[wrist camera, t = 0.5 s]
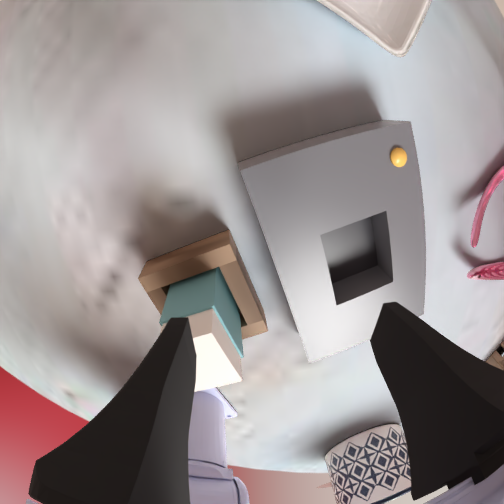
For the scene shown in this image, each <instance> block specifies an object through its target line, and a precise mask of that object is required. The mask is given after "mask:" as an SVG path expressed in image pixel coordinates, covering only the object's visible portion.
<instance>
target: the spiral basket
mask: <svg viewBox="0 0 504 504" xmlns="http://www.w3.org/2000/svg"><path fill="white" fill-rule="evenodd" d="M503 180H504V165H503V166H502V167H501V168H500V169H499V170H498V171H497V172H496V173H495V175H494V176H493V177H492V179H491V180H490V182H489V183H488V185H487V187H486V189H485V190H484V192H483V194H482V197H481V199H480V202H479V204H478V207H477V210H476V213H475V217H474V221H473V226H472V232H471V246H472V247H473V248H474V247H476V245H477V243H478V240H479V235H480V229H481V224H482V220H483V216H484V213H485V210H486V207H487V204H488V202H489V200H490V198H491V196H492V194H493V192H494V191H495V189H496V188H497V186H498V185H499V184H500V183H501V182H502V181H503ZM467 278H468V279H472V280H504V262H496V263H490V264H485V265H481V266H478V267H476V268H473V269H472V270H470V271H469V272H468V273H467Z"/></svg>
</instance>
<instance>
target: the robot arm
mask: <svg viewBox="0 0 504 504" xmlns="http://www.w3.org/2000/svg"><path fill="white" fill-rule="evenodd" d="M370 342H371V346H372V349H373V352H374V355H375V358H376V362H377V364H378V366H379V369H380V371H381V373H382V375H383V377H384V380H385V382H386V384H387V386H388V388H389V391H390V393H391V395H392V397H393V400H394V402H395V404H396V407H397V409H398V412H399V415H400V419H401V423H402V426H403V430H404V434H405V439H406V444H407V449H408V456H409V463H410V474H411V495H412V498H413V500H417V499H419V498H421V497H423V496H425V495H428V494H430V493H432V492H434V491H436V490H438V489H440V488H442V487H443V486H445V485H447V486H448V489H449V490H448V491H446V492H444V493H442V494H441V495H439V496H437V497H436V498H434V499H432V500H430V501H428V502H426V503H424V504H504V370H502V369H499V368H497V367H495V366H493V365H490V364H488V363H486V362H484V361H482V360H480V359H479V358H477V357H475V356H473V355H472V354H470V353H468V352H466V351H465V350H463V349H462V348H460V347H459V346H457V345H456V344H454V343H453V342H451V341H450V340H448V339H447V338H446V337H444V336H443V335H441V334H440V333H439V332H437V331H436V330H435V329H433V328H432V327H431V326H429V325H428V324H427V323H425V322H424V321H423V320H421V319H420V318H419V317H417V316H416V315H415V314H413V313H412V312H411V311H409V310H408V309H406V308H405V307H404V306H402V305H401V304H399V303H397V302H389V303H383V305H382V308H381V311H380V314H379V317H378V320H377V323H376V326H375V328H374V331H373V334H372V337H371V339H370ZM196 358H197V355H196V351H195V346H194V342H193V337H192V333H191V328H190V323H189V318H188V317H171V318H170V319H169V321H168V322H167V324H166V326H165V327H164V329H163V331H162V332H161V334H160V336H159V337H158V339H157V340H156V342H155V343H154V345H153V346H152V348H151V349H150V351H149V352H148V354H147V355H146V357H145V358H144V360H143V361H142V363H141V364H140V365H139V367H138V368H137V369H136V371H135V372H134V373H133V375H132V376H131V377H130V379H129V380H128V381H127V383H126V384H125V385H124V386H123V387H122V389H121V390H120V391H119V392H118V393H117V395H116V396H115V397H114V398H113V399H112V400H111V401H110V402H109V403H108V404H107V405H106V406H105V407H104V408H103V409H102V410H101V411H100V412H99V413H98V414H97V415H96V416H95V417H94V418H93V419H92V420H91V421H90V422H89V423H88V424H87V425H86V426H84V427H83V428H82V429H81V430H80V431H78V432H77V433H76V434H75V435H73V436H72V437H71V438H70V439H68V440H67V441H66V442H64V443H63V444H62V445H60V446H59V447H57V448H56V449H54V450H52V451H51V452H49V453H48V454H47V455H45V456H43V457H41V458H40V459H38V460H36V463H35V466H34V470H33V474H32V478H31V483H30V488H29V495H30V497H32V498H33V499H35V500H37V501H39V502H41V503H43V504H249V495H248V491H247V488H246V486H245V484H244V483H243V482H242V481H241V480H240V479H239V478H238V477H233V470H232V469H227V453H226V431H225V419H228V418H233V417H236V416H237V412H236V411H235V410H234V408H233V407H232V406H231V405H230V404H229V403H228V401H227V400H226V399H225V398H224V397H223V395H222V394H221V393H220V392H219V391H218V389H217V388H216V387H215V388H210V389H206V390H201V391H196V392H194V390H195V383H196ZM26 504H38V503H36V502H34V501H31V500H29V499H27V501H26Z"/></svg>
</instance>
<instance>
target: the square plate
mask: <svg viewBox="0 0 504 504" xmlns="http://www.w3.org/2000/svg"><path fill="white" fill-rule="evenodd" d="M316 1H318V2H319V3H321V4H323V5H324V6H326V7H327V8H329V9H330V10H332V11H333V12H335V13H336V14H338V15H339V16H341V17H342V18H344V19H345V20H347V21H348V22H349V23H351V24H352V25H353V26H355V27H356V28H357V29H359V30H360V31H361V32H363V33H364V34H365V35H367V36H368V37H369V38H370V39H372V40H373V41H374V42H376V43H377V44H378V45H380V46H381V47H382V48H384V49H385V50H387V51H388V52H389V53H391V54H392V55H394V56H397V57H403V56H405V55H406V54H407V52H408V51H409V49H410V47H411V46H412V44H413V42H414V40H415V38H416V36H417V34H418V32H419V29H420V27H421V25H422V23H423V20H424V18H425V16H426V13H427V11H428V8H429V7H430V4H431V1H432V0H316Z"/></svg>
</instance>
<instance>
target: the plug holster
mask: <svg viewBox="0 0 504 504" xmlns="http://www.w3.org/2000/svg"><path fill="white" fill-rule="evenodd" d="M217 267H220V269H221V272H222V274H223V276H224V278H225V280H226V282H227V284H228V286H229V288H230V290H231V292H232V294H233V297H234V299H235V301H236V303H237V305H238V307H239V310H240V322H241V334H242V339H245V338H248V337H252V336H255V335H258V334H261V333H264V332H267V331H268V328H267V323H266V319H265V314H264V310H263V308H262V305H261V303H260V301H259V298H258V296H257V294H256V291H255V289H254V287H253V284H252V282H251V280H250V277H249V275H248V273H247V270H246V268H245V266H244V263H243V261H242V259H241V256H240V254H239V252H238V249H237V247H236V244H235V242H234V240H233V237H232V235H231V233H230V230H227V231H224V232H221V233H219V234H216V235H213V236H211V237H208V238H205V239H203V240H200V241H198V242H195V243H192V244H190V245H187V246H185V247H182V248H180V249H177V250H174V251H172V252H169V253H167V254H164V255H162V256H159V257H157V258H154V259H152V260H149V261H147V262H146V264H145V266H144V268H143V270H142V272H141V274H140V276H139V278H138V279H139V281H140V283H141V284H142V286H143V287H144V289H145V291H146V292H147V294H148V296H149V297H150V299H151V300H152V302H153V303H154V305H155V306H156V308H157V310H158V311H159V313H160V314H161V315H162V311H163V308H164V304H165V301H166V298H167V294H168V291H169V288H170V284H172V283H175V282H178V281H180V280H183V279H186V278H189V277H192V276H194V275H197V274H200V273H203V272H205V271H208V270H211V269H214V268H217Z"/></svg>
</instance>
